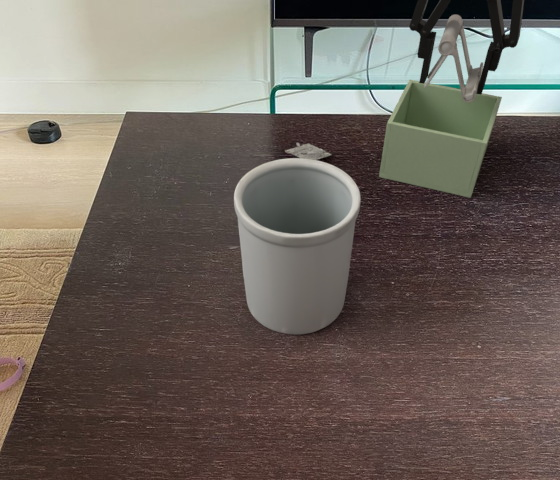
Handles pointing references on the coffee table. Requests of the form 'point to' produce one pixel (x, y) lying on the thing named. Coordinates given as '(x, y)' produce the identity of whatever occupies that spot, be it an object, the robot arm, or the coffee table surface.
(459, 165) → the bin
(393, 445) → the coffee table surface
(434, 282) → the coffee table surface
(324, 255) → the utensil holder
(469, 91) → the tablet stand
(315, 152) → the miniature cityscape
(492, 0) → the robot arm
